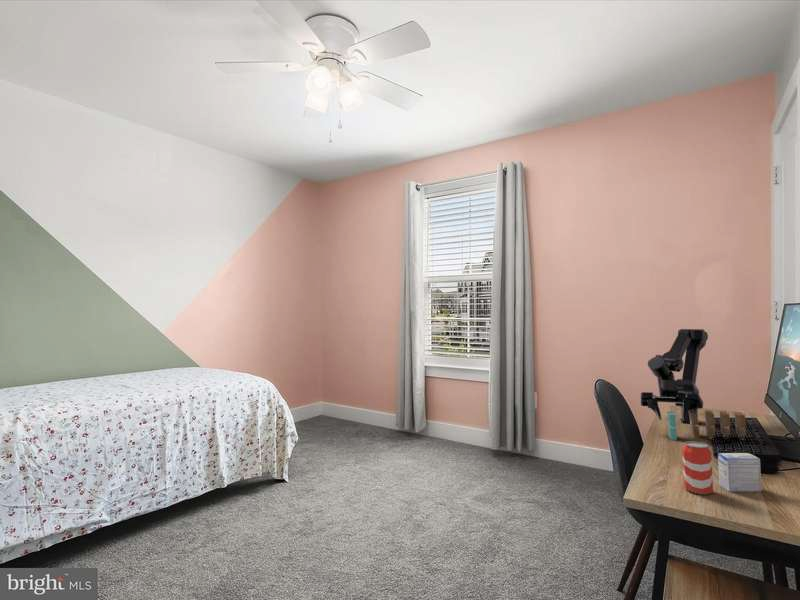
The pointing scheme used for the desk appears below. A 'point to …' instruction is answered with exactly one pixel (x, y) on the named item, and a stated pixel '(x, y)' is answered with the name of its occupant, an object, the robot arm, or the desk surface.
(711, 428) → the domino
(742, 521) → the desk surface
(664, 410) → the desk surface
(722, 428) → the domino
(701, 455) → the beverage can
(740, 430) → the domino
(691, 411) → the domino
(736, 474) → the medicine box
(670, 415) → the end domino
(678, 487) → the desk surface
